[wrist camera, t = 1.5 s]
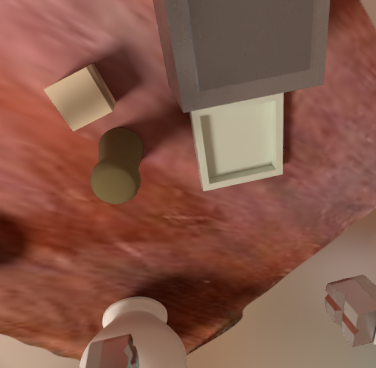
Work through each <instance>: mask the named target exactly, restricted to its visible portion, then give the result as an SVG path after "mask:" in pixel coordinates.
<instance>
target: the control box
mask: <svg viewBox="0 0 376 368" xmlns="http://www.w3.org/2000/svg"><path fill="white" fill-rule="evenodd" d="M153 3H154V8H155V14H156V19H157V25H158V30H159V35H160V41H161V46H162V51H163V57H164V62H165V67H166V73H167V78H168V83H169V86H170V88H171V90H172V92H173V94H174V96H175V98H176V100H177V101H178V103H179V105H180V107H181V109H182V111H183V113H186V112H191V111H195V110H200V109H205V108H210V107H215V106H220V105H225V104H230V103H235V102H240V101H245V100H250V99H255V98H260V97H265V96H270V95H275V94H280V93H285V92H290V91H294V90H299V89H304V88H309V87H314V86H319V85H323V83H324V71H325V59H326V46H327V34H328V21H329V9H330V0H153Z"/></svg>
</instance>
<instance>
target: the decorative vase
mask: <svg viewBox="0 0 376 368" xmlns="http://www.w3.org/2000/svg"><path fill="white" fill-rule="evenodd" d="M102 323H103V327H104V328H103V329H102V330H101V331H100V332H99V333H98V334H97V335H96V336H95V337H94V338H93V339H92V340H91V342H90V343H89V344H88V346H87V347H86V349H85V351H84V353H83V355H82V358H81V361H80V366H79V368H85V367H86V361H87V355H88V349H89V346H90V344H91V343H92V342H96V341H100V340H104V339H109V338H113V337H118V336H122V335H127V334H131V335H132V338H133V345H134V346H136V349H137V352H138V357H139V368H187V358H186V351H185V347H184V345H183V343H182V341H181V339H180V338H179V336H178V335H177V334H176V333H175V332H174V330H172V329H171V328H170V327H169V326H168V325H167V324H166V323H167V311H166V309H165V307H164V306H163V305H162V304H161V303H160V302H158V301H157V300H154V299H152V298H148V297H129V298H125V299H122V300H119V301H117V302H115V303H114V304H112V305H111V306H110V307H109V308H108V309H107V310H106V311H105V313H104V316H103V322H102Z"/></svg>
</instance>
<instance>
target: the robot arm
mask: <svg viewBox="0 0 376 368" xmlns="http://www.w3.org/2000/svg"><path fill="white" fill-rule="evenodd" d="M326 291H327V293H328V295H327V296H326V298H325V307H326V310H327V312H328V314H329V316H330V318H331V319H332V320H333V322H335V323H337V324H339V325H340V326H341V332H342V334H343V335H344V336H345V338H346V339H347V340H348V342H349V343H350V344H351V346H352V347H355V346H359V345H364V344H368V343H372V342H374V344H375V345H376V285H375V284H373V283H372V282H371V281H370V280H369V279H368V278H367V277H366V276H364V275H360V276H356V277H351V278H346V279H342V280H339V281H335V282H331V283H328V284H327V285H326ZM85 368H139V357H138V352H137V349H136V346H134V345H133V338H132V335H131V334H127V335H122V336H118V337H113V338H109V339H104V340H100V341H96V342H92V343H91V344H90V346H89V349H88V355H87V361H86V367H85Z"/></svg>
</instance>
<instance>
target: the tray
mask: <svg viewBox="0 0 376 368" xmlns="http://www.w3.org/2000/svg"><path fill="white" fill-rule="evenodd" d="M189 114H190V120H191V127H192V133H193V139H194V145H195V152H196V158H197V164H198V170H199V177H200V183H201V186H202V189H203V191H207V190H212V189H216V188H221V187H226V186H230V185H235V184H240V183H244V182H249V181H253V180H258V179H263V178H267V177H272V176H276V175H281V174H283V93H280V94H275V95H270V96H265V97H260V98H255V99H250V100H245V101H240V102H235V103H230V104H225V105H220V106H215V107H210V108H205V109H200V110H195V111H191V112H189Z"/></svg>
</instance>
